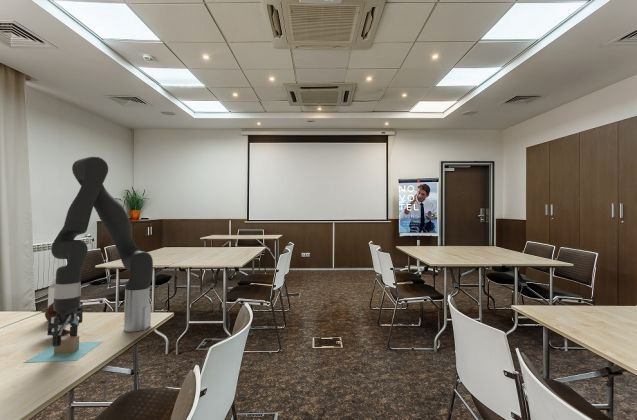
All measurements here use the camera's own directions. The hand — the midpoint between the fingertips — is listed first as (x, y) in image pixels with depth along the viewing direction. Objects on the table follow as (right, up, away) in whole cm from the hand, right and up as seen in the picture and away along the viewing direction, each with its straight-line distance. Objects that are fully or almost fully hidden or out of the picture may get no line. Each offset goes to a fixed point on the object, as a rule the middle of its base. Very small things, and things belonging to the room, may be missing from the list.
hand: (65, 341), depth 111 cm
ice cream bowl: (-15, -4, +16) cm, 22 cm away
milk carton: (-30, -4, +34) cm, 46 cm away
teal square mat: (0, -4, 0) cm, 4 cm away
